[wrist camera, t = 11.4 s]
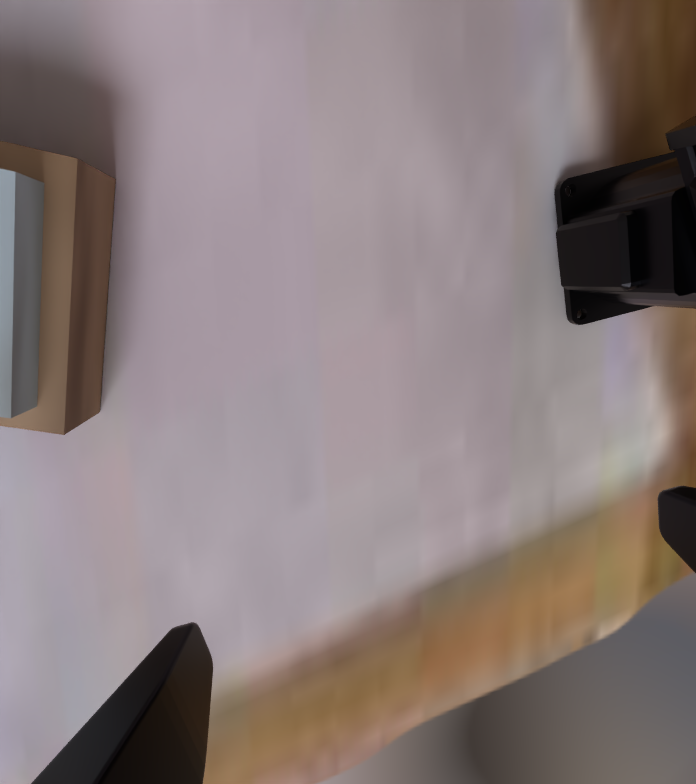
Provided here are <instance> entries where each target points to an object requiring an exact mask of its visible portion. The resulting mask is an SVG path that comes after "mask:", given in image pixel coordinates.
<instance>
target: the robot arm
mask: <svg viewBox="0 0 696 784" xmlns="http://www.w3.org/2000/svg"><path fill="white" fill-rule="evenodd" d="M665 135H666V138H667V141H668V145H669V148H670V150H675V152H672V153H668V154H664V155H660V156H656V157H652V158H648V159H644V160H640V161H636V162H632V163H628V164H624V165H620V166H616V167H612V168H608V169H604V170H600V171H596V172H592V173H588V174H584V175H580V176H576V177H572V178H568V179H566V180H563V181H561V182H560V183H559V184H558V185H557V186H556V189H555V204H556V214H557V224H558V230H557V232H556V238H557V248H558V258H559V267H560V277H561V285H562V286H563V287H564V294H565V304H566V314H567V319H568V321H569V322H570V323H572V324H577V325H583V324H587V323H591V322H595V321H598V320H602V319H606V318H610V317H614V316H618V315H621V314H625V313H629V312H633V311H637V310H641V309H644V308H648V307H652V306H665V307H680V308H695V309H696V116H694V117H693V118H691V119H689V120H687V121H686V122H684V123H682V124H681V125H679V126H677V127H676V128H674V129H672V130H670V131H669V132H667V133H666V134H665ZM567 186H568V187H569V188H570V190H571V193H570V195H569V196H567V195H566V193H565V188H566V187H567ZM579 310H581V312H582V314H581V316H580V318H577V312H578V311H579ZM658 515H659V529H660V532H661V535H662V537H663V538H664V540H665V541H666V542H667V543H668V544H669V545H670V547H671V548H672V549H673V550H674V551H675V552H676V553H677V554H678V555H679V556H680V557H681V558H682V559H683V560H684V561H685V563H686V564H687V565H688V566H689V567H690V568H691V569H692V570H693V571H694V572H695V573H696V488H693V487H687V486H677V487H674V488H670V489H667V490H663V491H662V492H660V493H659V495H658ZM212 676H213V662H212V657H211V654H210V651H209V649H208V647H207V644H206V642H205V640H204V637H203V635H202V632H201V630H200V628H199V626H198V625H197V624H196V623H193V622H191V623H188V624H184V625H180V626H177V627H174V628H172V629H171V630H170V631H169V632H168V633H167V634H166V636H165V637H164V638H163V639H162V640H161V641H160V642H159V643H158V644H157V645H156V647H155V648H154V649H153V650H152V651H151V652H150V653H149V654H148V655H147V656H146V658H145V659H144V660H143V661H142V662H141V663H140V664H139V665H138V666H137V667H136V669H135V670H134V671H133V672H132V673H131V674H130V675H129V676H128V677H127V679H126V680H125V681H124V682H123V683H122V684H121V685H120V686H119V687H118V688H117V690H116V691H115V692H114V693H113V694H112V695H111V696H110V697H109V698H108V699H107V701H106V702H105V703H104V704H103V705H102V706H101V707H100V708H99V709H98V710H97V712H96V713H95V714H94V715H93V716H92V717H91V718H90V719H89V720H88V722H87V723H86V724H85V725H84V726H83V727H82V728H81V729H80V730H79V731H78V733H77V734H76V735H75V736H74V737H73V738H72V739H71V740H70V741H69V742H68V744H67V745H66V746H65V747H64V748H63V749H62V750H61V751H60V752H59V753H58V755H57V756H56V757H55V758H54V759H53V760H52V761H51V762H50V763H49V765H48V766H47V767H46V768H45V769H44V770H43V771H42V772H41V773H40V774H39V776H38V777H37V778H36V779H35V780H34V781H33V782H32V783H31V784H203V777H204V771H205V762H206V753H207V740H208V728H209V715H210V702H211V689H212Z"/></svg>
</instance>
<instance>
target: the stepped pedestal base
mask: <svg viewBox="0 0 696 784" xmlns="http://www.w3.org/2000/svg"><path fill="white" fill-rule="evenodd" d="M115 180H116V179H114V178H112V177H110V176H108V175H107V174H105V173H103V172H101V171H99V170H97V169H96V168H94V167H92V166H90V165H88V164H87V163H85V162H83V161H81V160H79V159H77V158H73V157H69V156H64V155H60V154H56V153H51V152H47V151H43V150H38V149H34V148H30V147H25V146H21V145H17V144H12V143H8V142H4V141H0V426H6V427H13V428H20V429H27V430H34V431H41V432H48V433H55V434H62V435H65V434H66V433H68V432H69V431H71V430H72V429H74V428H76V427H77V426H79V425H80V424H82V423H83V422H85V421H87V420H88V419H90V418H91V417H93V416H95V415H96V414H98V413H99V412H100V401H101V386H102V372H103V357H104V342H105V327H106V313H107V298H108V283H109V268H110V254H111V239H112V224H113V209H114V195H115Z"/></svg>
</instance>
